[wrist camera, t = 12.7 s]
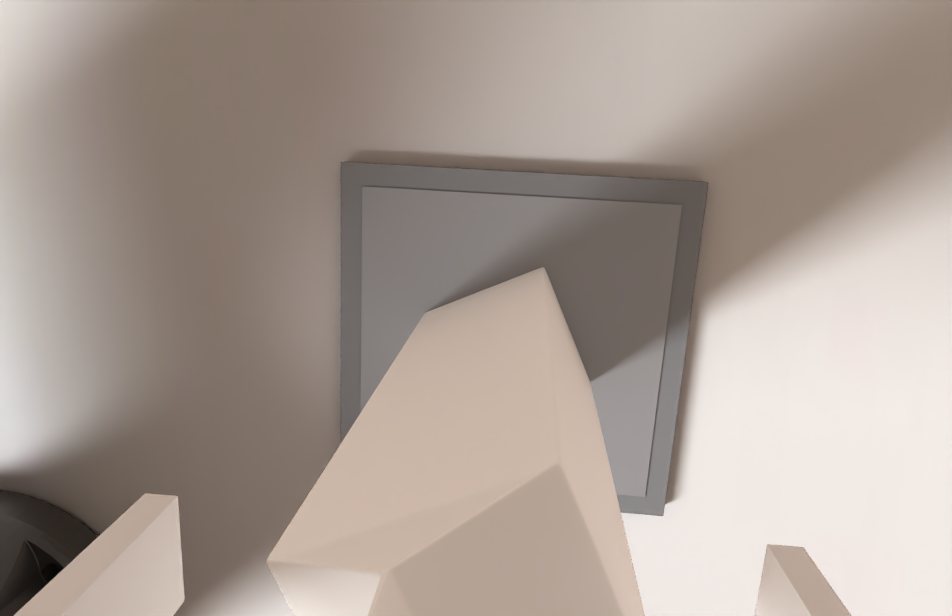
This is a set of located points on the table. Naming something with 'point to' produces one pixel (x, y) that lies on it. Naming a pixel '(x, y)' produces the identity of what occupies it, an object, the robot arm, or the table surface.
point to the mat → (521, 251)
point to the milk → (468, 479)
